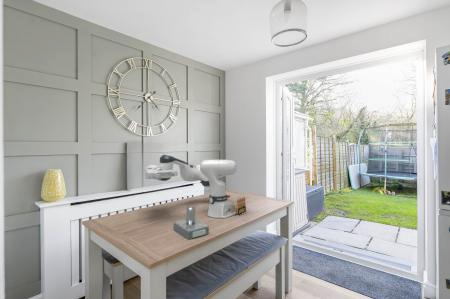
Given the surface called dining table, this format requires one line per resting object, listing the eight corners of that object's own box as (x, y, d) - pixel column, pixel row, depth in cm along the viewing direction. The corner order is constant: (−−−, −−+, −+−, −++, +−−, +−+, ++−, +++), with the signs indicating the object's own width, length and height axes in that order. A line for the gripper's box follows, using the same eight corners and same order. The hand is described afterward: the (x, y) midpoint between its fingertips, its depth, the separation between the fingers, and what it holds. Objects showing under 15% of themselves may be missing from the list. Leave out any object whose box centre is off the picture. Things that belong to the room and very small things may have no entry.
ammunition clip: (237, 216, 163) (238, 198, 163) (235, 215, 165) (235, 198, 164) (245, 212, 172) (246, 196, 172) (243, 211, 173) (244, 195, 173)
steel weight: (192, 221, 137) (192, 206, 137) (196, 223, 133) (196, 207, 133) (184, 222, 134) (184, 207, 134) (188, 225, 130) (188, 209, 130)
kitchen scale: (192, 225, 144) (193, 217, 144) (209, 234, 130) (209, 225, 130) (173, 229, 136) (173, 221, 136) (188, 240, 122) (188, 231, 122)
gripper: (172, 176, 163) (181, 179, 152) (143, 178, 150) (151, 181, 139) (172, 167, 163) (182, 169, 152) (143, 168, 150) (151, 171, 139)
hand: (167, 175), depth 146 cm, fingers open, 8 cm apart
